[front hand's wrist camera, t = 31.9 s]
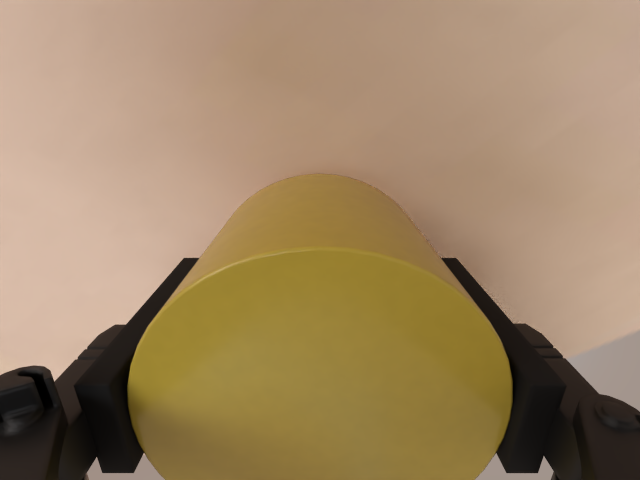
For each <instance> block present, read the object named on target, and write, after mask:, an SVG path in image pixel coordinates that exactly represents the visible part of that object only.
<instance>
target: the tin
mask: <svg viewBox="0 0 640 480" xmlns="http://www.w3.org/2000/svg"><path fill="white" fill-rule="evenodd" d="M127 388H128V409H129V414H130V419H131V424H132V427H133V429H134V432H135V435H136V437H137V440H138V442H139V444H140V446H141V448H142V450H143V451H144V453H145V455H146V457H147V458H148V460H149V461H150V462H151V464H152V465H153V466H154V467H155V469H156V470H157V471H158V473H159V474H160V475H161V476H162V477H163V478H164V479H165V480H475V479H476V478H477V477H478V476H479V474H480V473H481V472H482V471H483V470H484V469H485V468H486V466H487V465H488V463H489V462H490V461H491V459H492V458H493V457H494V455H495V454H496V452H497V450H498V448H499V446H500V444H501V442H502V440H503V438H504V436H505V433H506V430H507V427H508V424H509V421H510V416H511V410H512V403H513V380H512V375H511V370H510V365H509V360H508V357H507V354H506V352H505V349H504V347H503V344H502V342H501V339H500V338H499V336H498V334H497V333H496V331H495V329H494V328H493V326H492V324H491V323H490V321H489V320H488V318H487V317H486V316H485V315H484V313H483V312H482V311H481V309H480V308H479V307H478V306H477V304H476V303H475V302H474V300H473V299H472V298H471V297H470V295H469V294H468V293H467V291H466V290H465V289H464V288H463V286H462V285H461V284H460V282H459V281H458V280H457V278H456V277H455V276H454V275H453V273H452V272H451V271H450V269H449V268H448V267H447V266H446V264H445V263H444V262H443V260H442V259H441V258H440V257H439V255H438V254H437V253H436V251H435V250H434V249H433V248H432V246H431V245H430V244H429V242H428V241H427V240H426V238H425V237H424V236H423V235H422V233H421V232H420V231H419V229H418V228H417V227H416V226H415V224H414V223H413V222H412V220H411V219H410V218H409V217H408V215H407V214H406V213H405V212H404V211H403V210H402V208H401V207H400V206H399V205H398V204H397V203H396V202H394V201H393V200H392V199H391V198H390V197H389V196H387V195H386V194H384V193H383V192H381V191H380V190H378V189H377V188H375V187H372V186H370V185H368V184H366V183H364V182H361V181H358V180H355V179H352V178H349V177H344V176H339V175H332V174H309V175H301V176H296V177H291V178H287V179H284V180H281V181H279V182H276V183H273V184H271V185H269V186H267V187H265V188H264V189H262V190H260V191H258V192H257V193H256V194H254V195H253V196H251V197H250V198H248V199H247V200H246V201H245V202H244V203H243V204H242V205H241V206H240V207H239V208H238V209H237V210H236V211H235V213H234V214H233V215H232V216H231V218H230V219H229V220H228V222H227V223H226V224H225V226H224V227H223V228H222V229H221V231H220V232H219V233H218V235H217V236H216V237H215V239H214V240H213V241H212V243H211V244H210V245H209V247H208V248H207V249H206V250H205V252H204V253H203V254H202V256H201V257H200V258H199V260H198V261H197V262H196V264H195V265H194V266H193V268H192V269H191V270H190V271H189V273H188V274H187V275H186V277H185V278H184V279H183V281H182V282H181V283H180V285H179V286H178V287H177V289H176V290H175V291H174V292H173V294H172V295H171V296H170V298H169V299H168V300H167V302H166V303H165V304H164V306H163V307H162V308H161V310H160V311H159V312H158V313H157V315H156V316H155V317H154V319H153V320H152V321H151V323H150V324H149V325H148V327H147V329H146V331H145V332H144V334H143V336H142V338H141V340H140V341H139V343H138V345H137V348H136V351H135V354H134V357H133V360H132V362H131V366H130V373H129V379H128V386H127Z"/></svg>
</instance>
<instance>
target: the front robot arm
mask: <svg viewBox="0 0 640 480" xmlns="http://www.w3.org/2000/svg"><path fill="white" fill-rule="evenodd" d="M441 259H442V260H443V262H444V263H445V264H446V266H447V267H448V268H449V269H450V271H451V272H452V273H453V275H454V276H455V277H456V278H457V280H458V281H459V282H460V284H461V285H462V286H463V288H464V289H465V290H466V291H467V293H468V294H469V295H470V297H471V298H472V299H473V300H474V302H475V303H476V304H477V306H478V307H479V308H480V309H481V311H482V312H483V313H484V315H485V316H486V317H487V318H488V320H489V321H490V323H491V324H492V326H493V328H494V329H495V331H496V333H497V334H498V336H499V338H500V339H501V342H502V344H503V347H504V349H505V352H506V354H507V357H508V360H509V365H510V370H511V375H512V380H513V403H512V410H511V416H510V421H509V424H508V427H507V430H506V433H505V436H504V438H503V440H502V442H501V444H500V446H499V448H498V450H497V452H496V453H497V455H498V457H499V459H500V461H501V463H502V465H503V467H504V469H505V471H506V473H538V471H539V468H540V465H541V462H542V459H543V456H545V458H546V460H547V461H548V463H549V464H550V466H551V467H552V469H553V471H554V472H553V475H552V478H551V480H640V412H639V411H638V410H637V409H635V408H634V407H632V406H630V405H628V404H627V403H625V402H623V401H621V400H618V399H615V398H613V397H610V396H607V395H601V394H599V393H598V392H597V391H596V390H595V389H594V388H593V387H592V386H591V385H590V384H589V383H588V382H587V381H586V380H585V379H584V378H583V377H582V376H581V375H580V373H579V372H578V371H577V370H576V369H575V368H574V367H573V366H572V365H571V364H570V363H569V362H568V361H567V360H566V359H565V358H563V356H562V355H561V354H560V353H559V351H558V350H557V349H556V348H553V345H552V344H551V343H550V342H549V341H548V340H547V339H546V338H545V337H544V336H543V335H542V334H541V333H539V332H538V331H536V330H535V329H533V328H531V327H530V326H528V325H527V324H513V323H512V322H511V321H510V320H509V318H508V317H507V316H506V315H505V314H504V313H503V311H502V310H501V309H500V308H499V307H498V306H497V305H496V303H495V302H494V301H493V300H492V299H491V298H490V297H489V295H488V294H487V293H486V292H485V291H484V290H483V288H482V287H481V286H480V285H479V284H478V283H477V282H476V280H475V279H474V278H473V277H472V276H471V275H470V273H469V272H468V271H467V270H466V269H465V268H464V267H463V265H462V264H461V263H460V262H459V261H458V260H457V259H456V258H441ZM198 260H199V258H184V259H183V260H182V261H181V262H180V263H179V264H178V266H177V267H176V268H175V269H174V270H173V271H172V273H171V274H170V275H169V276H168V277H167V278H166V279H165V281H164V282H163V283H162V284H161V285H160V286H159V287H158V289H157V290H156V291H155V292H154V293H153V294H152V296H151V297H150V298H149V299H148V300H147V301H146V302H145V304H144V305H143V306H142V307H141V308H140V309H139V311H138V312H137V313H136V314H135V315H134V316H133V317H132V319H131V320H130V321H129V322H128V323H127V324H126V325H114V326H112V327H111V328H109V329H108V330H106V331H104V332H103V333H101V334H100V335H98V336H97V337H96V339H95V340H94V341H93V342H92V343H91V344H90V345H89V346H88V347H87V349H85V350H84V351H83V352H82V353H81V354H80V355H79V356H78V359H77V360H75V361H74V362H73V363H72V364H71V365H70V366H69V367H68V368H67V369H66V370H65V371H64V372H63V373H62V374H61V375H60V377H59V378H58V379H57V380H56V381H55V382H54V380H53V377H52V374H51V371H50V370H49V369H47V368H46V367H44V366H28V367H22V368H18V369H15V370H12V371H9V372H6V373H4V374H2V375H0V480H89V478H88V475H87V471H88V470H89V468H90V466H91V465H92V463H93V462H94V460H95V459H96V457H97V458H98V461H99V464H100V467H101V470H102V473H134V471H135V469H136V467H137V465H138V463H139V461H140V459H141V457H142V455H143V453H144V451H143V450H142V448H141V446H140V444H139V442H138V440H137V437H136V435H135V432H134V429H133V427H132V424H131V419H130V414H129V409H128V388H127V386H128V379H129V373H130V366H131V362H132V360H133V357H134V354H135V351H136V348H137V345H138V343H139V341H140V340H141V338H142V336H143V334H144V332H145V331H146V329H147V327H148V325H149V324H150V323H151V321H152V320H153V319H154V317H155V316H156V315H157V313H158V312H159V311H160V310H161V308H162V307H163V306H164V304H165V303H166V302H167V300H168V299H169V298H170V296H171V295H172V294H173V292H174V291H175V290H176V289H177V287H178V286H179V285H180V283H181V282H182V281H183V279H184V278H185V277H186V275H187V274H188V273H189V271H190V270H191V269H192V268H193V266H194V265H195V264H196V262H197V261H198Z"/></svg>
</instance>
